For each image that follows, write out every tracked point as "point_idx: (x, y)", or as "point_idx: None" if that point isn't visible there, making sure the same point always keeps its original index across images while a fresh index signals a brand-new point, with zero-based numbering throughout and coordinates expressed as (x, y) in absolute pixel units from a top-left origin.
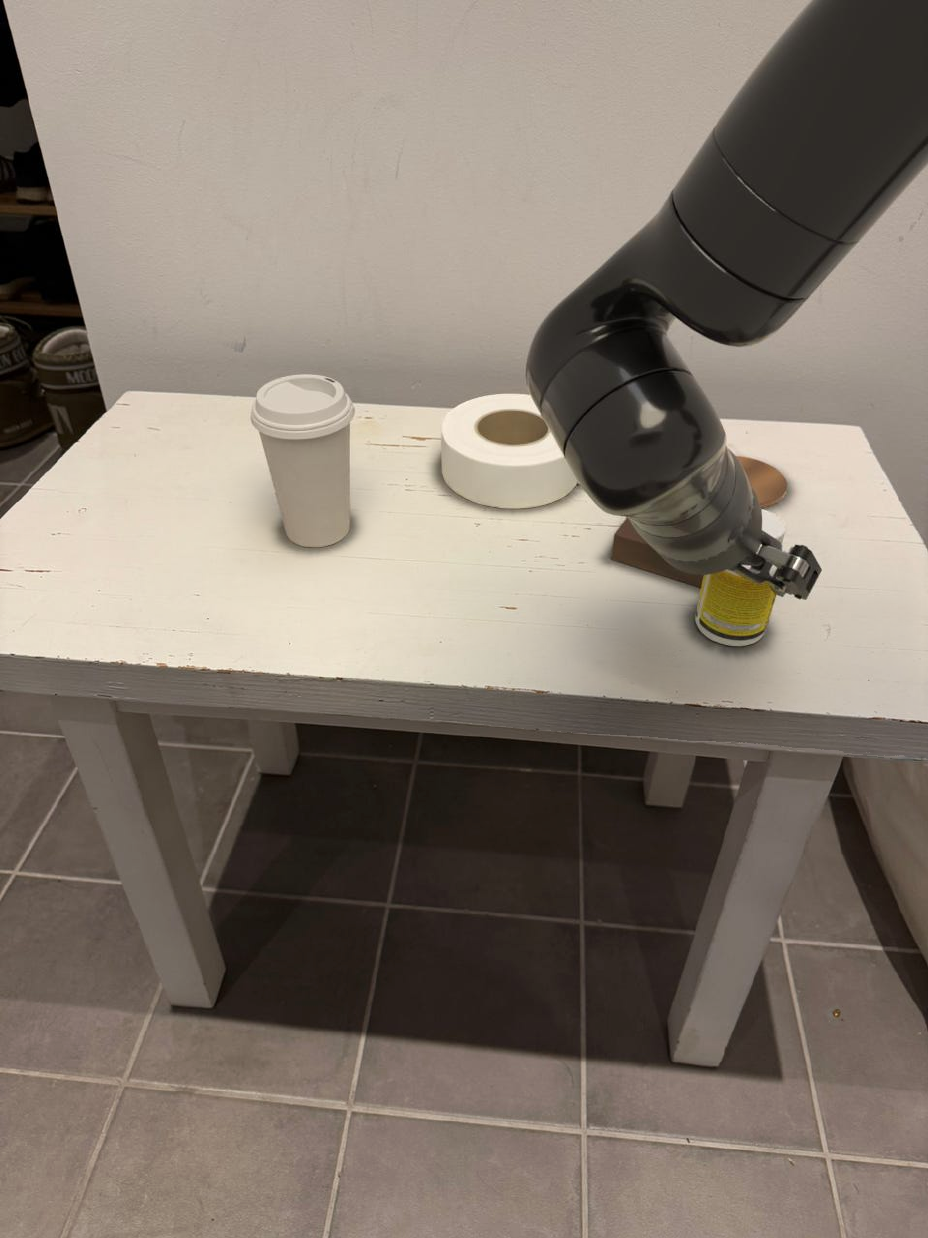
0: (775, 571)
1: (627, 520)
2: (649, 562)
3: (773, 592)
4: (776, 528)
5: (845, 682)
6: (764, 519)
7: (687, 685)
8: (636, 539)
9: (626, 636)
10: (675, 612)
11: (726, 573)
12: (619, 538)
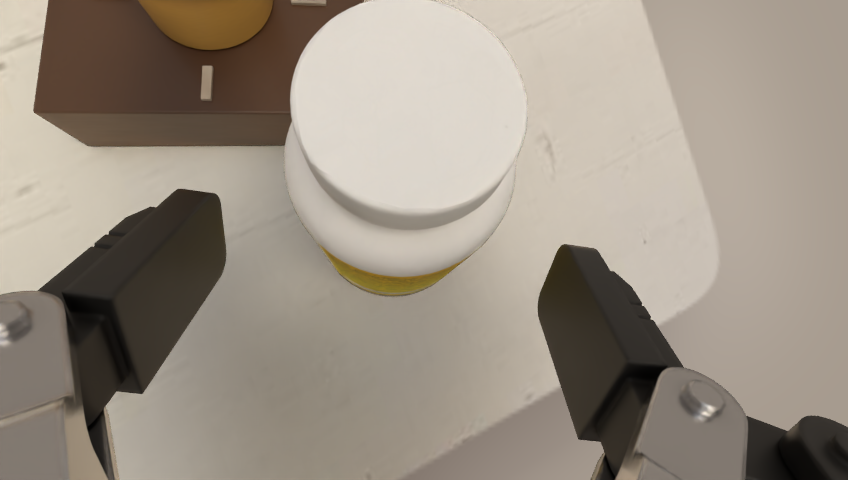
0: (601, 399)
1: (49, 44)
2: (171, 136)
3: (544, 332)
4: (495, 98)
5: (617, 268)
6: (432, 57)
7: (381, 445)
8: (98, 107)
9: (213, 374)
10: (283, 244)
11: (373, 273)
12: (56, 116)
